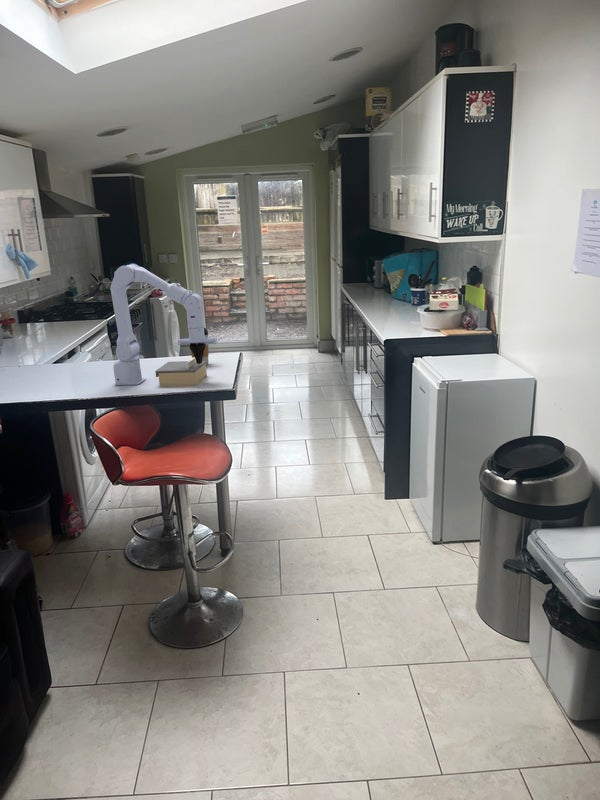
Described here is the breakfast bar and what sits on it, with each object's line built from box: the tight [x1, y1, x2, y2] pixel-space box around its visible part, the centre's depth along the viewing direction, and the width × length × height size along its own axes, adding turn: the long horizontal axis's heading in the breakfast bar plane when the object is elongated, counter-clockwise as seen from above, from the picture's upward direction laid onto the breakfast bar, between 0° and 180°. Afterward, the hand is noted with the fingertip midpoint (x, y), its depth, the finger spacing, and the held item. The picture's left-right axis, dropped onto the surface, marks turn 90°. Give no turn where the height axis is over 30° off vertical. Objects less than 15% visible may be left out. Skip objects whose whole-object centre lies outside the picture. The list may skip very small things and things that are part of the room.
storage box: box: [158, 363, 208, 387], centre depth 228 cm, size 14×14×5 cm
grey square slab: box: [155, 357, 206, 378], centre depth 228 cm, size 15×15×4 cm
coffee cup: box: [187, 327, 209, 366], centre depth 252 cm, size 8×8×15 cm
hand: (199, 363), depth 226 cm, fingers closed
